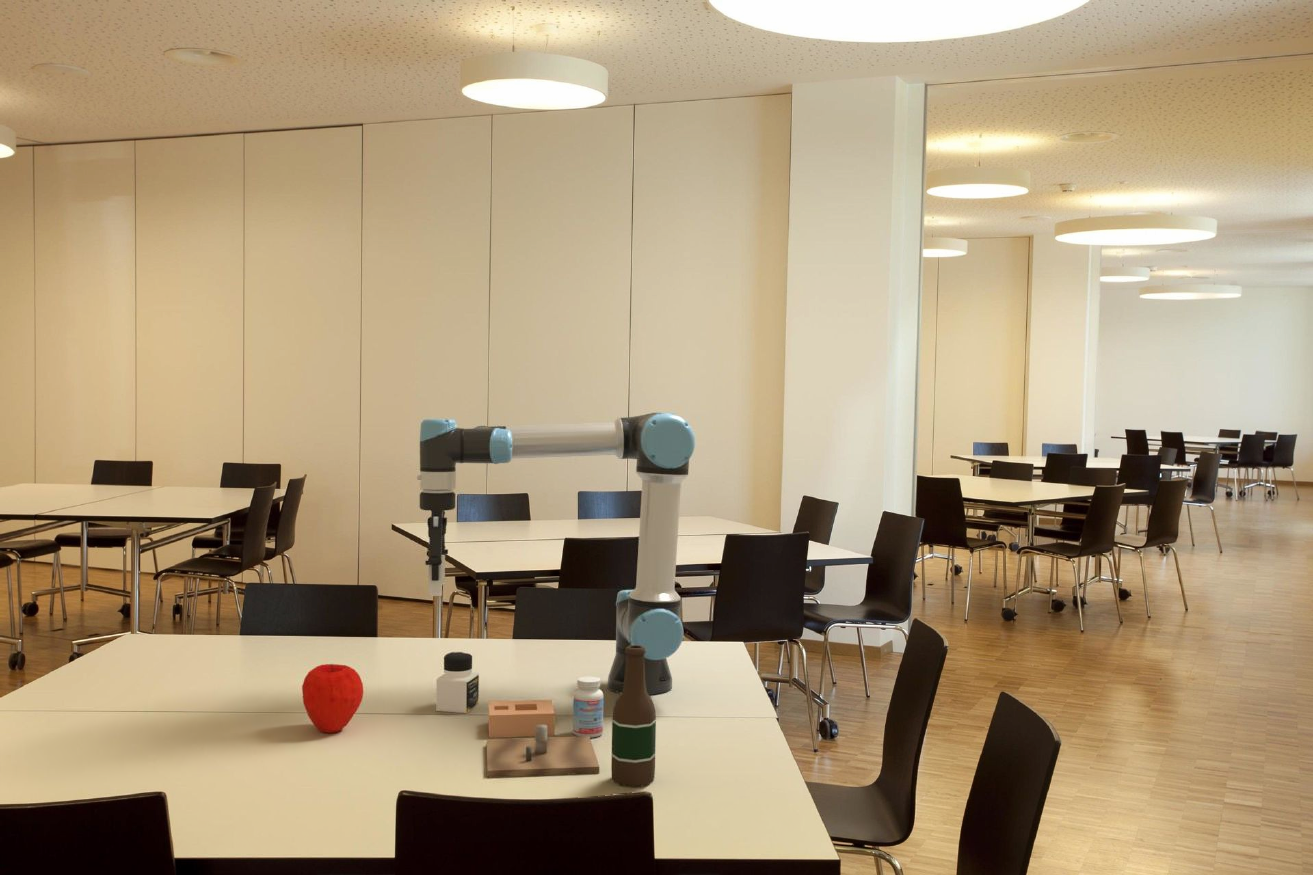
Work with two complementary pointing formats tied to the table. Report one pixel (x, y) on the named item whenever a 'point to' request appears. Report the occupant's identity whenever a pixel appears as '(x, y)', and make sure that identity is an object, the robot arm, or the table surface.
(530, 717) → the salmon block with slots
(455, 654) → the medicine bottle
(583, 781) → the table surface
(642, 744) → the beer bottle
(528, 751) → the post board
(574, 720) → the pill bottle
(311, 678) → the apple
